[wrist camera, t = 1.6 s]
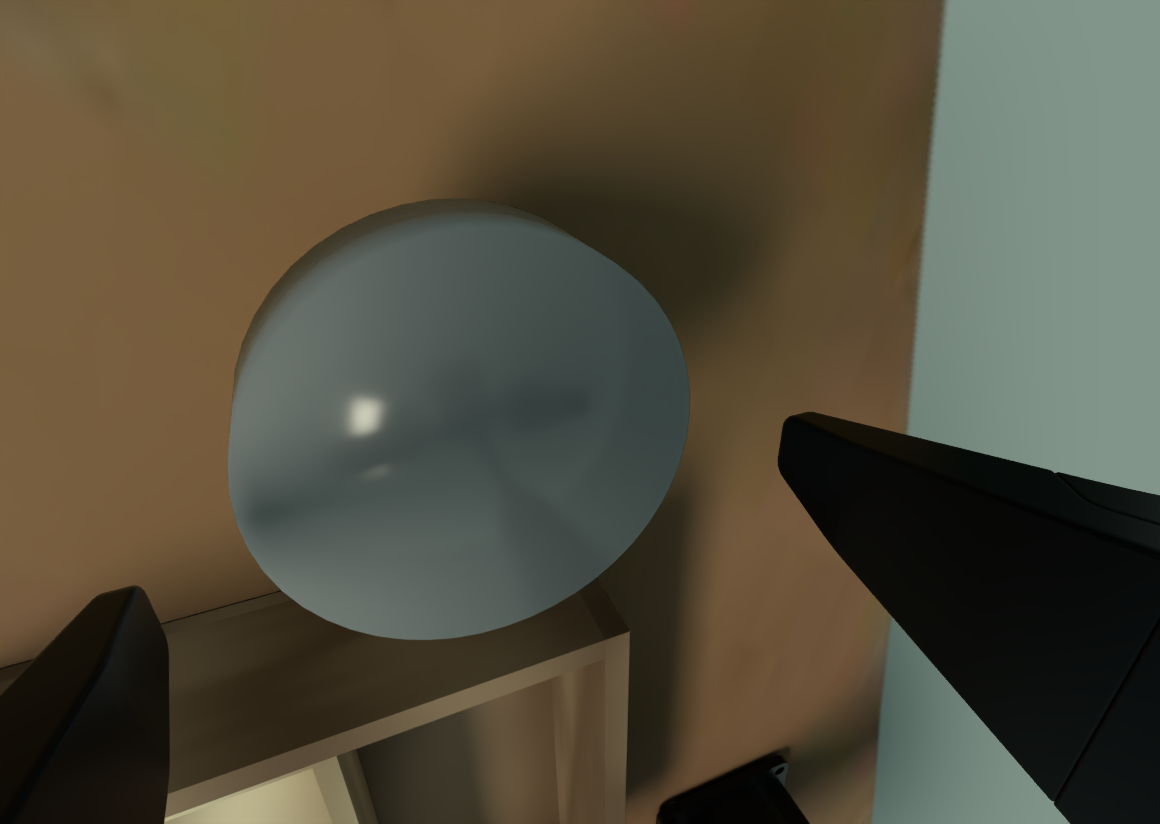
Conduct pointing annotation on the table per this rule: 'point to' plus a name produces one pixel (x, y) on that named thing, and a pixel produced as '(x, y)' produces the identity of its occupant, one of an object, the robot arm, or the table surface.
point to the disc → (451, 420)
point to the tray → (295, 798)
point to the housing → (406, 711)
